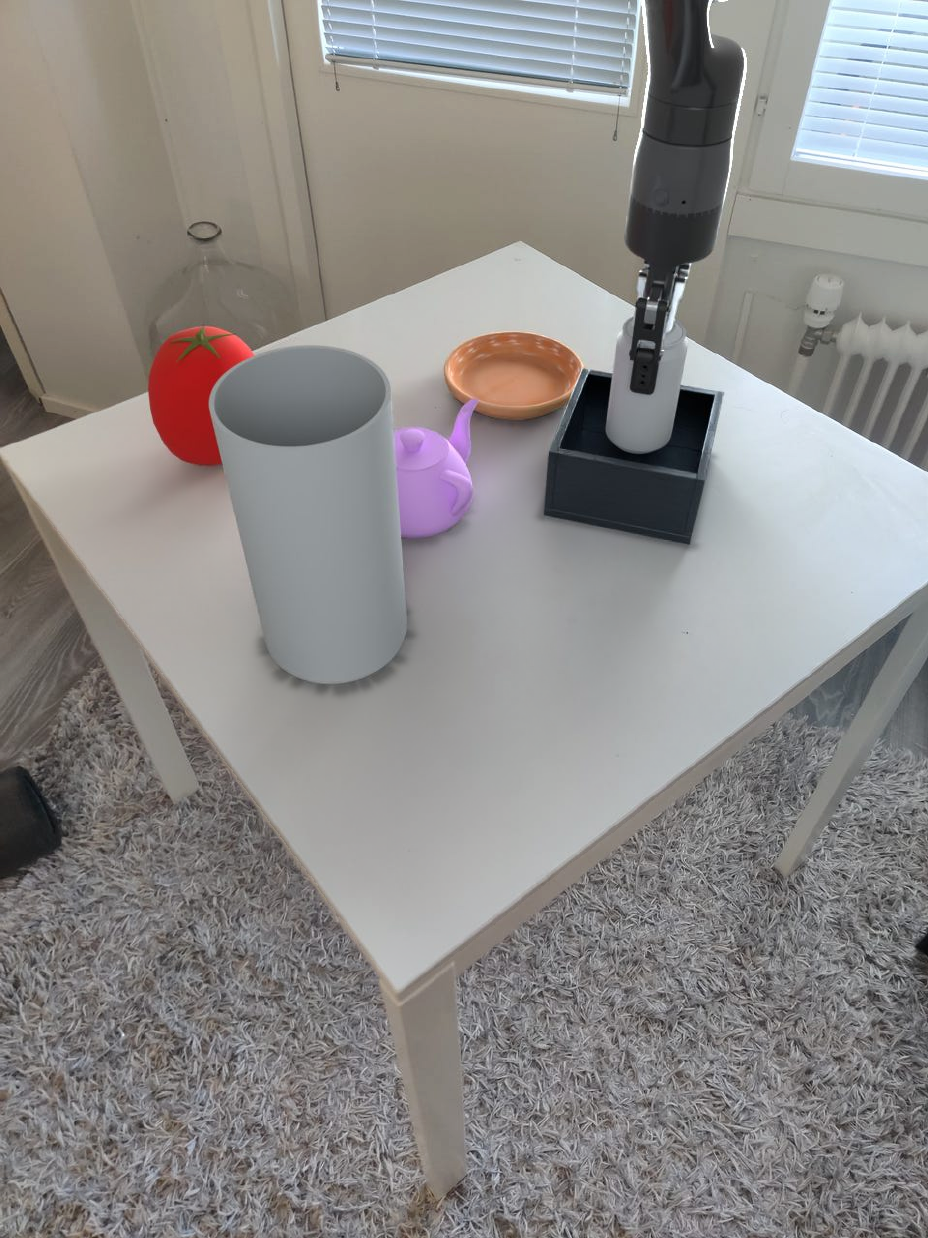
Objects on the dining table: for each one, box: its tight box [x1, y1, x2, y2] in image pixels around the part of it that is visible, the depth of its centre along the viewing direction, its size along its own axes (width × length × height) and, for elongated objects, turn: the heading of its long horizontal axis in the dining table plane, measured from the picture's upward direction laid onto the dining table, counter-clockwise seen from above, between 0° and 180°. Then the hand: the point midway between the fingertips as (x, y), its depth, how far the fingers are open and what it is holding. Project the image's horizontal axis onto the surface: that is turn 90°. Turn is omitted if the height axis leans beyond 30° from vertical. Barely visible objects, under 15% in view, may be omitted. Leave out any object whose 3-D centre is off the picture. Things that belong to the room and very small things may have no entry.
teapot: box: [394, 398, 478, 539], centre depth 92 cm, size 12×14×9 cm
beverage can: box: [606, 315, 689, 454], centre depth 89 cm, size 6×6×12 cm
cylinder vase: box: [209, 344, 408, 685], centre depth 75 cm, size 12×12×25 cm
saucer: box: [443, 330, 585, 421], centre depth 108 cm, size 16×16×3 cm
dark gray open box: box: [543, 368, 725, 545], centre depth 95 cm, size 15×15×8 cm
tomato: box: [147, 324, 256, 467], centre depth 97 cm, size 13×11×14 cm
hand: (648, 370), depth 87 cm, fingers closed on beverage can, 6 cm apart
